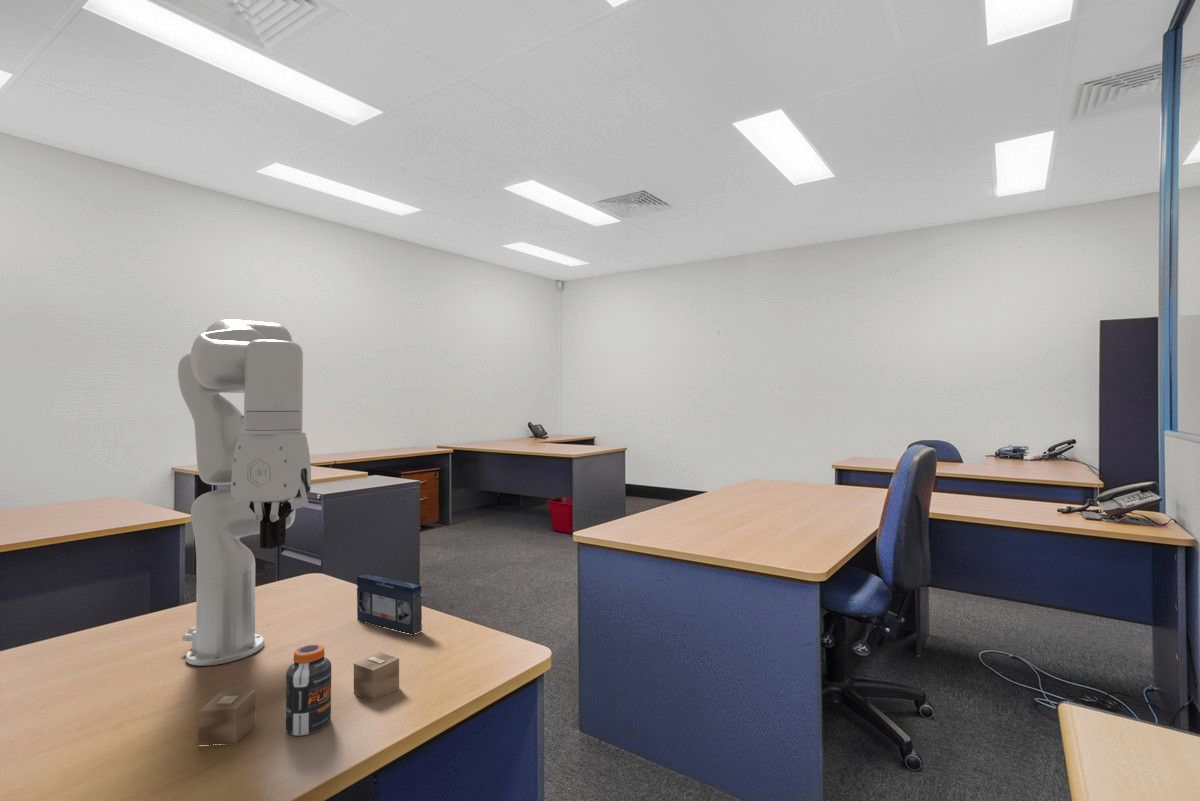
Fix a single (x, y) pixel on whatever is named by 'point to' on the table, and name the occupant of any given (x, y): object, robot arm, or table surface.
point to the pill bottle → (308, 691)
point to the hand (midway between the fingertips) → (272, 546)
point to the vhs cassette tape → (389, 603)
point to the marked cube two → (376, 676)
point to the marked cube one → (226, 718)
